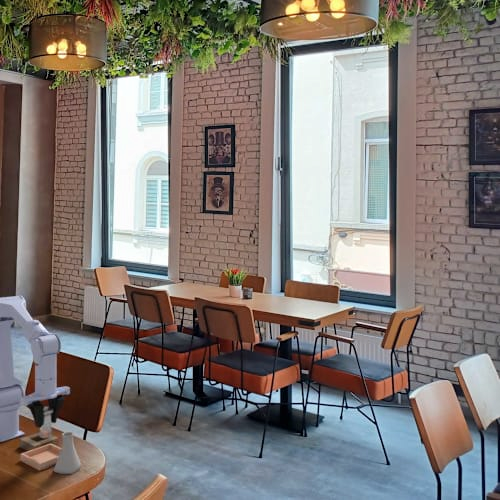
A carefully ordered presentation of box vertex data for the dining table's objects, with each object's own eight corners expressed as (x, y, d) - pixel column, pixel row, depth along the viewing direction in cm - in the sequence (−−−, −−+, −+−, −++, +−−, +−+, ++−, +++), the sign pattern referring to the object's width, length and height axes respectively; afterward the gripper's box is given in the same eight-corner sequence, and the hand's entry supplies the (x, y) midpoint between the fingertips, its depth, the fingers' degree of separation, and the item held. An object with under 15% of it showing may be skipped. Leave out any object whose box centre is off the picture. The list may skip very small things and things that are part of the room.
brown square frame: (19, 447, 170) (19, 438, 170) (43, 438, 177) (43, 431, 177) (34, 454, 166) (34, 446, 165) (58, 445, 172) (58, 437, 172)
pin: (34, 435, 162) (34, 409, 161) (47, 431, 165) (48, 405, 164) (43, 440, 159) (43, 413, 158) (56, 435, 162) (56, 409, 162)
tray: (20, 460, 161) (20, 453, 161) (50, 449, 169) (50, 443, 169) (40, 470, 155) (40, 463, 155) (70, 459, 163) (70, 452, 163)
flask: (73, 476, 153) (73, 440, 152) (48, 473, 154) (48, 437, 154) (85, 464, 160) (86, 430, 159) (62, 461, 162) (62, 427, 161)
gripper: (30, 386, 152) (30, 435, 153) (76, 374, 164) (76, 420, 165) (16, 380, 157) (16, 428, 158) (61, 370, 168) (61, 414, 169)
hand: (45, 424), depth 162 cm, fingers closed on pin, 4 cm apart
